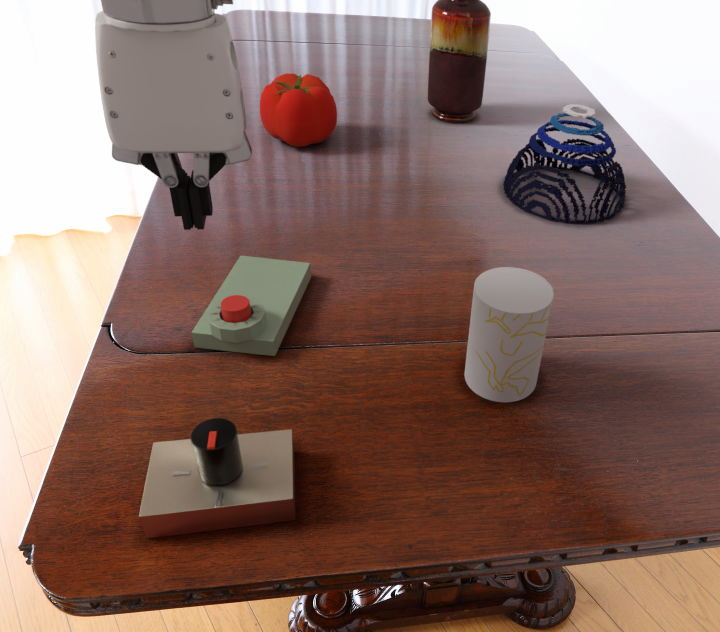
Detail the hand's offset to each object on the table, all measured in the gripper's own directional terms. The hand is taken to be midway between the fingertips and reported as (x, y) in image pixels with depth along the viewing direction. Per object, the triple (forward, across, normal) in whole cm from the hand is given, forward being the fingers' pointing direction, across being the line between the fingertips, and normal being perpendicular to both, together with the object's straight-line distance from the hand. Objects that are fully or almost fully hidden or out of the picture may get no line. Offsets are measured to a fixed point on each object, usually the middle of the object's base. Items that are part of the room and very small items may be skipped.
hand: (195, 221), depth 60 cm
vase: (+18, -40, -75) cm, 87 cm away
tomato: (+18, -9, -63) cm, 67 cm away
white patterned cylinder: (+19, -30, +2) cm, 35 cm away
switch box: (+19, -3, -13) cm, 23 cm away
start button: (+15, -1, -7) cm, 17 cm away
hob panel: (+20, -1, +14) cm, 24 cm away
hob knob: (+16, -1, +14) cm, 22 cm away
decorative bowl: (+18, -52, -41) cm, 68 cm away
